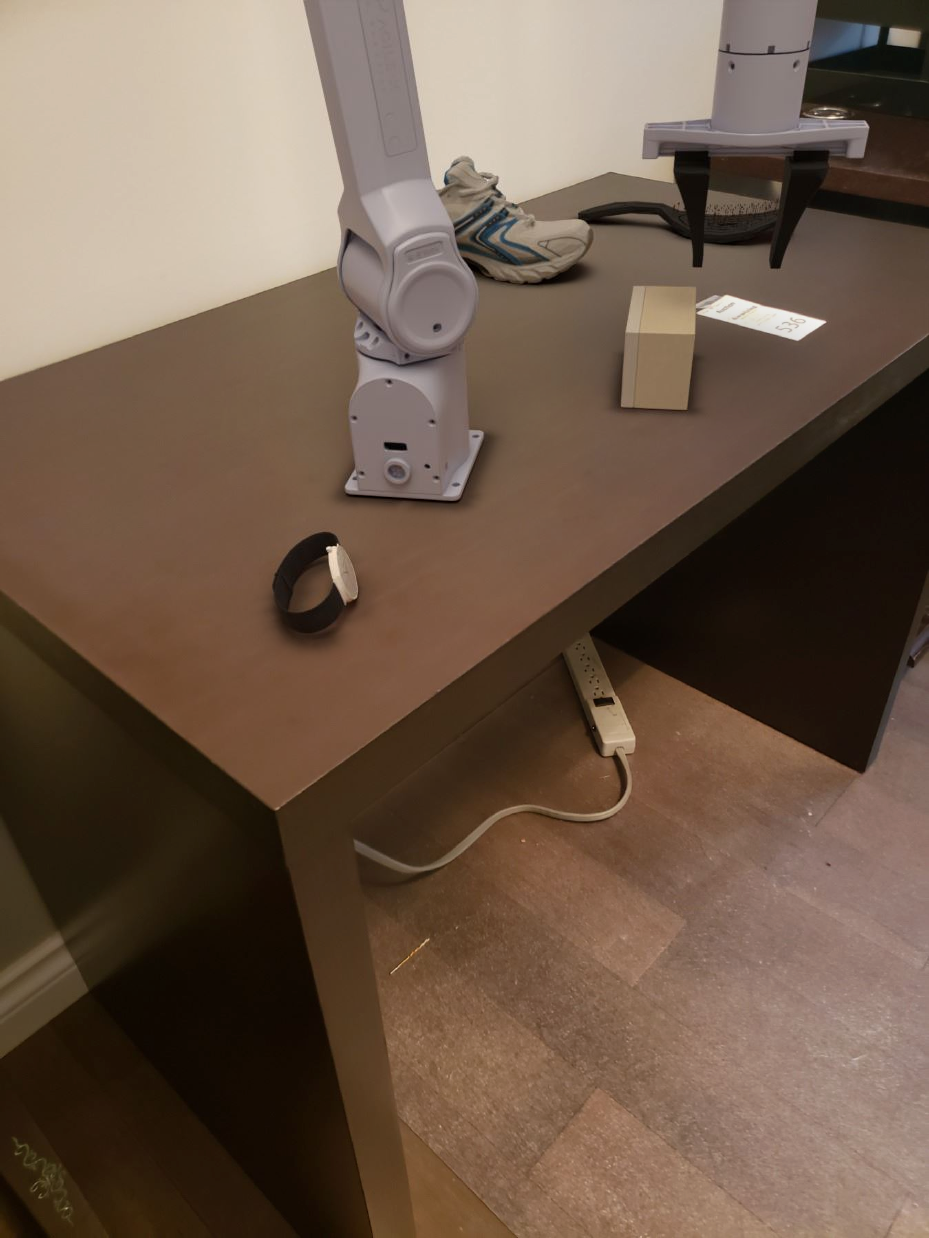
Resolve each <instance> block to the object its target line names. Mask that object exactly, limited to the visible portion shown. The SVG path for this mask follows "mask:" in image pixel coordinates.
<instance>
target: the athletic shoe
mask: <svg viewBox="0 0 929 1238" xmlns="http://www.w3.org/2000/svg"><path fill="white" fill-rule="evenodd" d="M499 181H500V177H499V176H498V175H495V174H493V173H492V172H483V171H480V172H478V171H477V170H476V169H475V161H474V160H473V159H472V158H471V157H469V156H467V155H466V156H465V155H460V156H459V157H457V158H455V159H454V160H452V162H451V164H450V167H449V168H448V169H447V170H446V171H445V172H444V177H443V183H444V186H443V187H442V188H440V189H439V188H438V189H436V191H437V193H438V195H439V197H440V199H441V201H442V203H443V205H444V207H445V209H446V211H447V213H448V215H449V217H450V219H451V221H452V224H453V226H454V232H455V239H456V244H457V248H458V251H459V253H460V255H461V257H462V259H463V260H464V262H465V263H466V264H470V265H472V266H474V267H476V268H478V269H479V271H480V272H481V273H482V274H483V275H484V276H486V277H488V278H492V277H493V278H494V280H496V281H499V282H500V281H501V282H510V283H512V284H520V285H523V284H525V283H526V282H527V283H528V284H536V283H540V282H542V281H543V280H544V279H546V280H550V279H553V278H554V277H556V276H558V275H559V274H560V273H564V272H566V271H568V270H569V269H570V268H571V267H572V266H574V265H576V264H577V263H578V262H579V261H580V260H581V259H582V258H583V257H584V256H585V255H586V254H587V253H588V251H589V250H590V248H591V246H592V245H593V242H594V238H595V237H594V229H593V228H592V226H590V225H589V224H588V223H587V222H586V220H579V219H578V218H573V219H561V220H560V219H559V220H548V221H547V220H546V221H545V220H537V219H536V217H535V215H534V214H532V213H528V214H526V213H525V211H524V209H523V208H521V207H520V206H519V205H518V204H515V203H514V202H510V201H508V200H506V199H507V197H506V195H504V194H503V193H502V191H501V190H499V189H498V188H497V185H499Z"/></svg>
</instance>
